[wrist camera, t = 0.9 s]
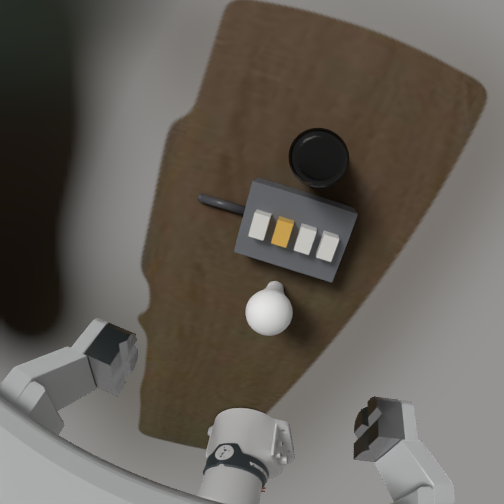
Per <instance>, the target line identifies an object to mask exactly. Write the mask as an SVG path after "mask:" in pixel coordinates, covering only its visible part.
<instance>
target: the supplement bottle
mask: <svg viewBox="0 0 504 504" xmlns="http://www.w3.org/2000/svg"><path fill="white" fill-rule="evenodd" d="M289 164H290V167H291V170H292V172H293V173H294V175H295V176H296V177H297V178H298V179H299V180H300V181H301V182H302V183H304V184H306V185H308V186H311V187H315V188H325V187H329V186H332V185H334V184H335V183H337V182H338V181H339V180H341V179H342V177H343V176H344V175H345V173H346V171H347V169H348V165H349V152H348V149H347V146H346V144H345V142H344V141H343V140H342V139H341V137H340V136H338V135H337V134H336V133H334V132H333V131H331V130H328V129H324V128H312V129H308V130H306V131H304V132H302V133H300V134H299V135H298V136H297V137H296V138H295V139H294V141H293V142H292V144H291V147H290V150H289Z"/></svg>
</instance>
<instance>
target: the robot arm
mask: <svg viewBox="0 0 504 504" xmlns="http://www.w3.org/2000/svg"><path fill="white" fill-rule="evenodd" d="M136 341H137V338H136V334H135V333H132V332H130V331H127V330H125V329H123V328H120V327H118V326H116V325H113V324H111V323H109V322H106V321H104V320H101V319H99V318H96V319H95V320H93V321H92V322H91V324H90V325H89V326H88V327H87V329H86V330H85V331H84V332H83V333H82V335H81V336H80V337H79V338H78V340H77V341H76V342H75V344H74V345H73V346H72V347H71V348H70V347H65V348H63V349H60V350H57V351H55V352H52V353H50V354H47V355H44V356H42V357H39V358H36V359H34V360H31V361H29V362H26V363H24V364H21V365H18V366H15V367H14V368H13V369H12V371H11V372H10V373H9V374H8V376H7V377H6V378H5V379H4V381H3V382H2V383H1V385H0V504H259V500H260V494H261V492H265V491H261V490H262V489H265V487H264V485H265V483H267V480H268V479H270V478H273V477H276V476H278V475H280V474H281V473H282V470H283V465H286V464H289V463H291V462H293V461H294V459H295V456H294V449H293V443H292V436H291V430H290V425H289V423H288V422H286V421H282V420H278V419H274V418H272V417H270V416H268V415H267V414H264V413H262V412H259V411H256V410H252V409H247V408H233V409H228V410H225V411H223V412H221V413H219V414H218V415H217V417H216V418H215V422H214V425H213V426H211V427H210V428H209V429H208V435H209V436H210V439H209V443H208V447H207V452H206V458H207V461H206V463H205V465H204V471H203V475H204V477H203V480H202V483H201V485H200V488H199V491H198V494H197V496H195V495H192V494H189V493H186V492H183V491H180V490H177V489H174V488H171V487H168V486H165V485H162V484H160V483H157V482H154V481H152V480H149V479H147V478H144V477H141V476H139V475H137V474H134V473H132V472H130V471H127V470H125V469H123V468H120V467H118V466H116V465H114V464H112V463H109V462H107V461H105V460H103V459H101V458H99V457H97V456H95V455H93V454H91V453H89V452H87V451H85V450H84V449H82V448H80V447H78V446H76V445H74V444H72V443H71V442H69V441H67V440H65V439H64V438H62V437H60V436H59V433H60V431H61V430H62V428H63V427H64V423H63V420H62V419H61V417H60V415H59V414H58V412H57V411H58V410H60V409H62V408H64V407H66V406H67V405H69V404H71V403H73V402H74V401H76V400H78V399H80V398H81V397H83V396H85V395H87V394H89V393H90V392H92V391H94V390H96V389H97V388H99V389H101V390H103V391H106V392H108V393H111V394H113V395H115V396H118V395H119V393H120V391H121V389H122V388H123V386H124V384H125V383H126V382H125V376H126V375H128V374H131V373H132V371H133V369H134V367H135V364H136V362H137V358H138V349H137V348H136V346H135V345H134V344H135V342H136ZM96 387H97V388H96ZM354 433H355V435H356V436H357V438H358V440H357V441H356V442H355V443H354V460H362V461H371V462H375V465H376V467H377V469H378V471H379V473H380V475H381V477H382V479H383V481H384V483H385V485H386V487H387V489H388V491H389V493H390V495H391V497H392V499H393V501H394V502H393V503H391V504H455V498H454V486H453V483H452V482H451V481H450V479H449V478H448V476H447V475H446V474H445V472H444V471H443V469H442V468H441V467H440V465H439V464H438V463H437V461H436V460H435V458H434V457H433V456H432V454H431V453H430V452H429V450H428V449H427V448H426V446H425V445H424V443H423V442H422V441H418V434H417V426H416V419H415V412H414V406H413V403H412V402H410V401H401V400H397V399H389V398H381V397H372V398H370V400H369V401H368V407H365V408H363V409H361V411H360V412H359V414H358V415H357V418H356V421H355V426H354Z"/></svg>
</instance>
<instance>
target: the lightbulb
mask: <svg viewBox="0 0 504 504" xmlns="http://www.w3.org/2000/svg"><path fill="white" fill-rule="evenodd" d="M292 314H293V311H292V306H291V303H290V301H289V299H288V298H287V297H286V296H285V295H284V290H283V285H282V284H281V283H280V282H278V281H272V282H270V283H269V284H268V285H267V287H266V288H265V289H264V290H261V291H259V292H257V293H256V294H254V295H253V296H252V297H251V298H250V300H249V301H248V303H247V306H246V318H247V321H248V324H249V325H250V327H251V328H252V329H253V330H255V331H256V332H257V333H259V334H262V335H267V336H270V335H276V334H279V333H281V332H282V331H284V330H285V329H286V328H287V327H288V325H289V324H290V322H291V319H292Z"/></svg>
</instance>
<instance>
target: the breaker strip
mask: <svg viewBox="0 0 504 504" xmlns="http://www.w3.org/2000/svg"><path fill="white" fill-rule="evenodd" d="M197 200H198V201H199V202H201V203H205V204H208V205H212V206H215V207H219V208H222V209H225V210H229V211H232V212H235V213H239V214H242V215H243V219H242V222H241V226H240V230H239V234H238V238H237V242H236V245H235V249H234V252H236V253H239V254H242V255H246V256H249V257H252V258H255V259H258V260H261V261H265V262H268V263H271V264H274V265H277V266H280V267H284V268H287V269H290V270H293V271H296V272H300V273H303V274H306V275H309V276H312V277H316V278H319V279H322V280H325V281H328V282H332V281H333V279H334V276H335V274H336V271H337V269H338V266H339V264H340V261H341V258H342V256H343V253H344V251H345V248H346V245H347V243H348V240H349V237H350V235H351V232H352V229H353V226H354V224H355V221H356V218H357V215H358V214H357V212H356V211H355V209H354V208H353V207H350V206H347V205H344V204H341V203H338V202H335V201H332V200H329V199H326V198H323V197H320V196H317V195H314V194H311V193H308V192H304V191H301V190H298V189H295V188H292V187H288V186H285V185H282V184H278V183H275V182H272V181H268V180H265V179H262V178H258V177H257V178H256V179H255V180H253V181H252V185H251V189H250V192H249V196H248V200H247V204H246V207H245V206H242V205H238V204H235V203H231V202H228V201H225V200H221V199H218V198H214V197H211V196H207V195H204V194H200V195H198V197H197Z"/></svg>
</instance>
